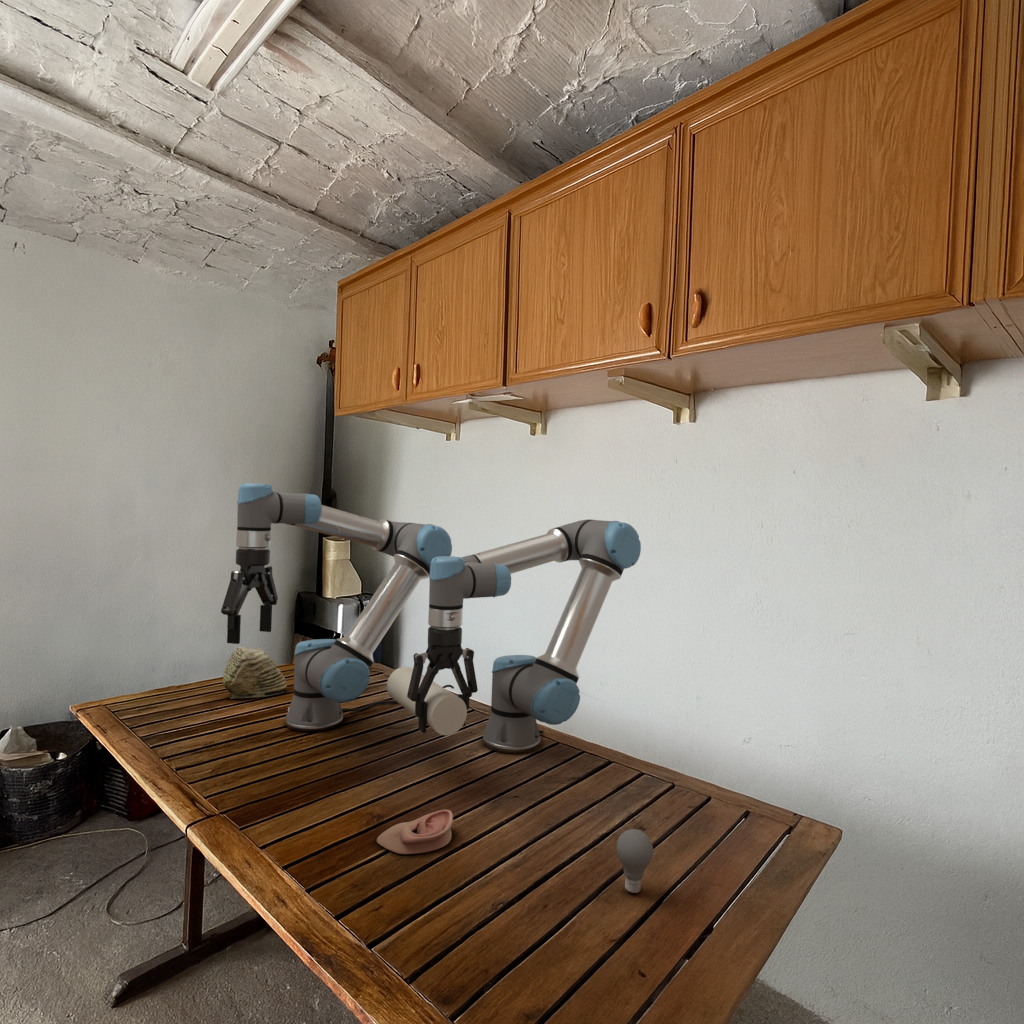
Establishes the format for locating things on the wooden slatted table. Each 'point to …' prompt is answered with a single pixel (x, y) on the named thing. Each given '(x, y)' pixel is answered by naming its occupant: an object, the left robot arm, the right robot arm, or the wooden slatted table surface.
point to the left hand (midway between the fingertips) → (250, 637)
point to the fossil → (252, 674)
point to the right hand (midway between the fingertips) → (442, 727)
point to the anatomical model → (419, 834)
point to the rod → (430, 702)
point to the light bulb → (634, 857)
